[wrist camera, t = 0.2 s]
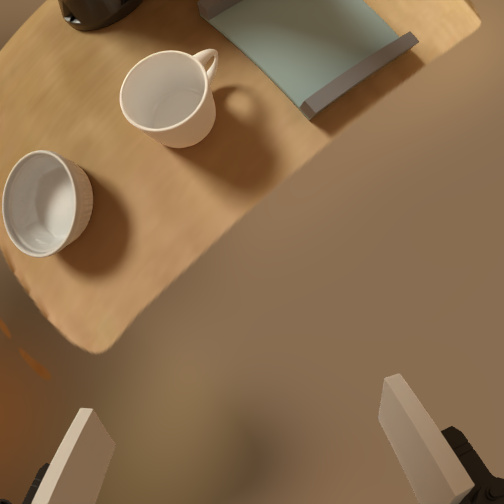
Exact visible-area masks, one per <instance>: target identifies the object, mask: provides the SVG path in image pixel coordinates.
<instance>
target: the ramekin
mask: <svg viewBox="0 0 504 504" xmlns="http://www.w3.org/2000/svg"><path fill="white" fill-rule="evenodd" d="M92 209H93V191H92V187H91V184H90V180H89V179H88V176H87V175H86V173H85V172H84V171H83V170H82V168H81V167H79V166H78V165H77V164H75V163H74V162H72V161H70V160H68V159H66V158H64V157H63V156H61V155H60V154H58V153H55V152H52V151H46V150H37V151H33V152H31V153H29V154H27V155H25V156H24V157H22V158H21V159H20V160H19V161H18V162H17V163H16V165H15V166H14V167H13V169H12V171H11V172H10V174H9V176H8V179H7V181H6V184H5V188H4V192H3V200H2V213H3V220H4V224H5V227H6V230H7V233H8V235H9V237H10V239H11V240H12V242H13V243H14V244H15V246H16V247H17V248H18V249H19V250H20V251H22V252H23V253H25V254H27V255H29V256H32V257H37V258H41V257H47V256H51V255H54V254H56V253H58V252H59V251H61V250H62V249H63V248H65V247H66V246H67V245H68V244H70V243H72V242H73V241H74V240H76V239H77V238H78V237H79V236H80V235H81V234H82V232H83V231H84V230H85V228H86V226H87V225H88V222H89V220H90V216H91V214H92Z"/></svg>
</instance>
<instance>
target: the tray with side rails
mask: <svg viewBox="0 0 504 504" xmlns="http://www.w3.org/2000/svg"><path fill="white" fill-rule="evenodd" d="M197 4H198V8H199V13H200V16H201V17H202V18H204V19H205V20H206V21H207V22H208V23H210V24H211V25H212V26H213V27H214V28H216V29H217V30H218V31H219V32H220V33H222V34H223V35H224V36H225V37H226V38H227V39H228V40H230V41H231V42H232V43H233V44H234V45H235V46H236V47H237V48H238V49H240V50H241V51H242V52H243V53H244V54H245V55H246V56H247V57H248V58H249V59H250V60H251V61H252V62H253V63H254V64H255V65H257V66H258V67H259V68H260V69H261V70H262V71H263V72H264V73H265V74H266V75H267V76H268V77H269V78H270V79H271V80H272V81H273V82H274V83H275V84H276V85H277V86H278V88H279V89H280V90H281V91H282V92H283V93H284V94H285V95H286V96H287V97H288V98H289V99H290V100H291V101H292V102H293V103H294V105H295V106H296V107H297V108H298V109H299V110H300V111H301V112H302V113H303V114H304V116H305V117H306V118H307V119H308V120H310V119H312V118H313V117H314V116H316V115H317V114H318V113H320V112H321V111H322V110H324V109H325V108H326V107H328V106H329V105H330V104H332V103H333V102H334V101H336V100H337V99H338V98H340V97H341V96H343V95H344V94H345V93H347V92H348V91H349V90H351V89H352V88H354V87H355V86H356V85H358V84H359V83H361V82H362V81H364V80H365V79H366V78H368V77H369V76H371V75H372V74H374V73H375V72H376V71H378V70H379V69H381V68H382V67H384V66H385V65H387V64H388V63H390V62H391V61H393V60H394V59H396V58H397V57H399V56H400V55H402V54H403V53H405V52H406V51H408V50H409V49H411V48H412V47H413V46H414V45H416V44H417V43H418V42H419V41H418V40H417V38H416V37H415V36H414V35H413V34H412V33H411V32H408V33H407V34H405V35H403V36H401V37H399V36H398V35H397V34H396V33H395V32H394V31H393V30H392V29H391V28H390V26H389V25H388V24H387V23H386V22H385V21H384V20H383V19H382V18H381V17H380V16H379V15H378V14H377V13H376V12H375V11H374V10H372V9H371V8H370V7H369V6H368V5H367V4H366V3H365V2H364V1H363V0H200V1H198V2H197Z"/></svg>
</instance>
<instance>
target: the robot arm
mask: <svg viewBox="0 0 504 504" xmlns="http://www.w3.org/2000/svg"><path fill="white" fill-rule="evenodd" d="M58 1H59V5H60V9H61V12H62V15H63V18H64V19H65V21H66V22H67V23H68V24H69V25H71V26H72V27H73V28H75V29H77V30H81V31H90V30H96V29H100V28H103V27H106V26H108V25H110V24H112V23H114V22H116V21H118V20H120V19H122V18H123V17H125V16H126V15H128V14H129V13H130V12H132V11H133V10H134V9H135V8H136V7H137V6H138V5H139V4H140V3H141V2H142V1H143V0H58ZM378 420H379V422H380V424H381V426H382V428H383V430H384V432H385V434H386V436H387V438H388V440H389V442H390V444H391V446H392V448H393V450H394V452H395V454H396V456H397V458H398V460H399V462H400V464H401V467H402V468H403V471H404V472H405V475H406V477H407V479H408V481H409V483H410V485H411V487H412V490H413V492H414V494H415V495H416V498H417V500H418V502H419V504H504V479H502V478H496V477H494V476H493V475H492V474H491V473H490V472H489V470H488V469H487V468H486V466H485V464H484V463H483V462H482V460H481V459H480V457H479V456H478V454H477V453H476V451H475V450H473V447H472V446H471V445H470V443H468V440H467V439H466V437H465V436H464V434H463V433H462V432H461V431H459V430H458V429H456V428H454V427H453V426H451V427H449V428H447V429H445V430H443V431H440V430H439V429H438V427H437V426H436V424H435V423H434V421H433V420H432V418H431V417H430V416H429V414H428V413H427V411H426V410H425V408H424V407H423V405H422V404H421V402H420V401H419V400H418V398H417V397H416V395H415V394H414V392H413V391H412V390H411V388H410V387H409V385H408V384H407V383H406V381H405V380H404V378H403V377H402V376H401V374H400V373H398V374H395V375H392V376H389V377H385V378H384V384H383V391H382V397H381V403H380V409H379V415H378ZM115 446H116V445H115V443H114V442H113V440H112V439H111V437H110V436H109V434H108V433H107V431H106V429H105V428H104V426H103V425H102V423H101V421H100V420H99V418H98V416H97V415H96V413H95V411H94V410H93V409H87V408H80V410H79V412H78V414H77V415H76V417H75V419H74V421H73V422H72V424H71V426H70V428H69V430H68V431H67V433H66V435H65V437H64V439H63V441H62V443H61V444H60V446H59V448H58V450H57V452H56V454H55V456H54V458H53V460H52V462H51V464H48V463H46V464H45V465H44V466H42V468H40V469H39V471H38V473H37V475H36V477H35V480H34V481H33V483H32V486H31V487H30V489H29V491H28V493H27V495H26V497H25V499H24V502H23V504H95V503H96V500H97V497H98V494H99V491H100V488H101V485H102V482H103V479H104V477H105V474H106V471H107V468H108V465H109V462H110V460H111V457H112V454H113V452H114V449H115ZM0 504H12V503H11V502H9V501H8V500H5V499H0Z"/></svg>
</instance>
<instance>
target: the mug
mask: <svg viewBox="0 0 504 504" xmlns="http://www.w3.org/2000/svg"><path fill="white" fill-rule="evenodd" d="M213 56H215V59H214V62H213V64H212V66H211V67H210V68H209V70H208V71H207V72H206V70H205V68H204V66H205V64H206V63H207V62H208V61H209V60H210V58H211V57H213ZM217 66H218V52H217V51H216V50H214V49H207V50H203V51H201V52H198V53H197V54H195V55H193V56H192V55H190V54H187V53H184V52H181V51H172V50H170V51H162V52H158V53H154V54H152V55H149V56H148V57H146V58H144V59H142V60H141V61H140V62H138V63H137V64H136V65H135V66H134V67H133V68H132V69H131V70H130V72H129V73H128V74H127V76H126V78H125V79H124V82H123V84H122V87H121V91H120V105H121V109H122V112H123V114H124V116H125V117H126V119H127V120H128V121H129V122H130V123H131V124H132V125H134V126H135V127H137V128H138V129H140V130H141V131H143V132H144V133H146V134H147V135H149V136H150V137H152V138H153V139H155V140H156V141H158V142H160V143H161V144H163V145H165V146H168V147H172V148H185V147H189V146H192V145H195V144H197V143H198V142H200V141H201V140H203V139H204V138H205V137H206V136H207V135H208V133H209V132H210V131H211V129H212V127H213V125H214V122H215V118H216V107H215V102H214V99H213V95H212V91H211V87H210V85H211V83H212V81H213V79H214V76H215V74H216V70H217Z"/></svg>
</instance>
